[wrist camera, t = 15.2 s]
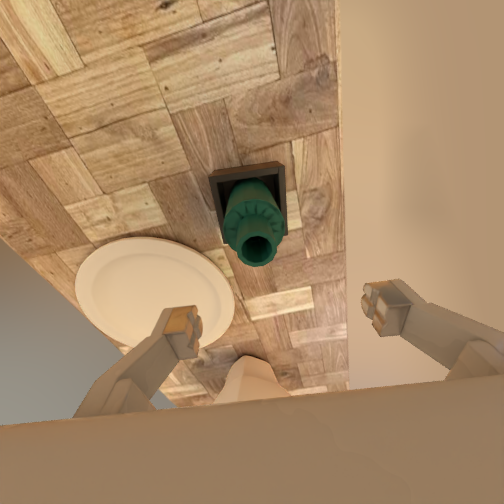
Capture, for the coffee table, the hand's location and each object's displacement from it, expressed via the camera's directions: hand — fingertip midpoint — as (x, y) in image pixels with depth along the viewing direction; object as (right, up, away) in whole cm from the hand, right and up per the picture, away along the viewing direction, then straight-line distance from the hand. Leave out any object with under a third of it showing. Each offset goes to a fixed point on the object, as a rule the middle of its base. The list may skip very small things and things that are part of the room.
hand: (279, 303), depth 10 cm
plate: (-19, -6, +30) cm, 36 cm away
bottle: (-2, +11, +20) cm, 23 cm away
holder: (-2, +11, +21) cm, 23 cm away
